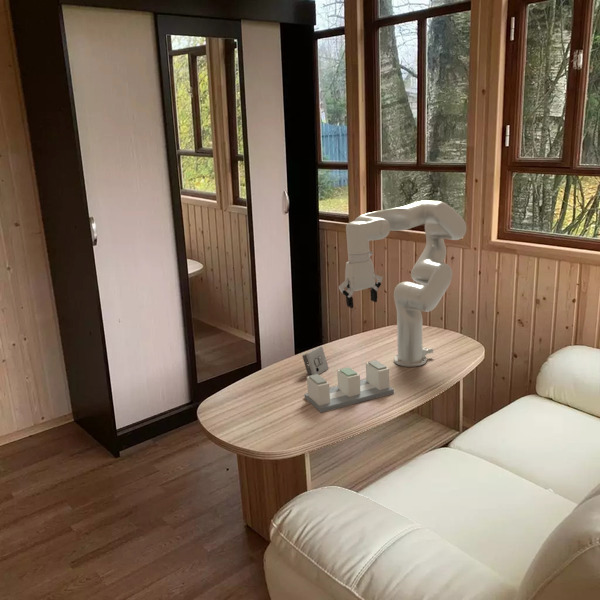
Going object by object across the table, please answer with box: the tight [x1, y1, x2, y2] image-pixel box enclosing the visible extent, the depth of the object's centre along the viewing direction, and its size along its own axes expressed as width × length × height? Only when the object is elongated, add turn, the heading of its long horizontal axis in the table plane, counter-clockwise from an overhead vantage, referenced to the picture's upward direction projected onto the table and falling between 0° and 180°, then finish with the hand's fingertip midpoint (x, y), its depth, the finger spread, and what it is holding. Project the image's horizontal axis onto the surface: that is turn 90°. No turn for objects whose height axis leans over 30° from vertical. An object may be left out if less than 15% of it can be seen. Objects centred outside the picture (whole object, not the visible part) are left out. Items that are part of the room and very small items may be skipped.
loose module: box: [336, 367, 361, 397], centre depth 208 cm, size 4×8×8 cm, turn 23°
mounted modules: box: [306, 359, 390, 406], centre depth 207 cm, size 27×9×8 cm, turn 114°
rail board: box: [303, 378, 395, 413], centre depth 209 cm, size 28×13×2 cm, turn 114°
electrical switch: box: [301, 346, 329, 376], centre depth 230 cm, size 9×5×9 cm, turn 141°
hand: (362, 304), depth 214 cm, fingers open, 9 cm apart
